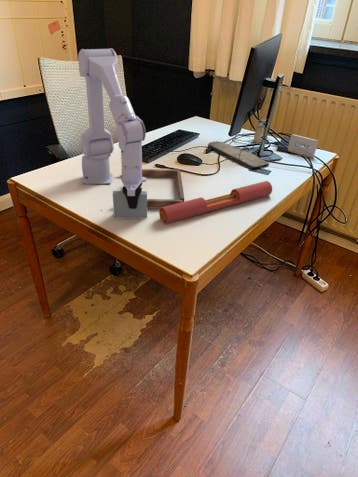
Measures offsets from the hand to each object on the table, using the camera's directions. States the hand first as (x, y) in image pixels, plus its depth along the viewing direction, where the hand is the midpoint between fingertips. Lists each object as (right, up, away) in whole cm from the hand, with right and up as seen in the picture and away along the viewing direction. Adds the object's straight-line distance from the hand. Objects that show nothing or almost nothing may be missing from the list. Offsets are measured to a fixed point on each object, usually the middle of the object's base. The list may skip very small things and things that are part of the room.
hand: (133, 206), depth 108 cm
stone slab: (+39, +26, +47) cm, 66 cm away
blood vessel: (+27, 0, +9) cm, 29 cm away
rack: (+4, +7, +16) cm, 18 cm away
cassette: (+68, +28, +52) cm, 90 cm away
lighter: (+52, +37, +63) cm, 90 cm away
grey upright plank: (-1, -3, +2) cm, 4 cm away
